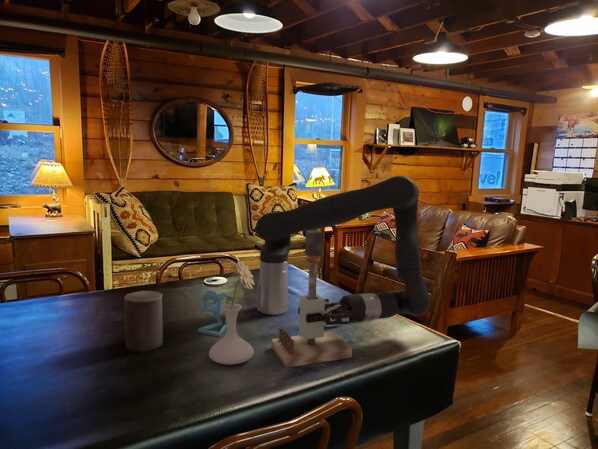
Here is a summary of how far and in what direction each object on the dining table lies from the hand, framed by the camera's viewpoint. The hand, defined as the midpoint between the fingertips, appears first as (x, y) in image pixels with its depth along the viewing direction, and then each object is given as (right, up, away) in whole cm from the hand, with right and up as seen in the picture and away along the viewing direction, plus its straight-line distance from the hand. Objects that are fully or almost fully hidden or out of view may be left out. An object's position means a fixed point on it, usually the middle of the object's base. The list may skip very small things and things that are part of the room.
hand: (302, 314), depth 116 cm
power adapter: (+7, -8, +21) cm, 24 cm away
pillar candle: (-43, -9, +6) cm, 44 cm away
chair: (-25, -8, +17) cm, 32 cm away
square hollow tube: (+2, -6, +2) cm, 6 cm away
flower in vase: (-18, -11, -1) cm, 21 cm away
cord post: (+2, -11, +3) cm, 11 cm away
